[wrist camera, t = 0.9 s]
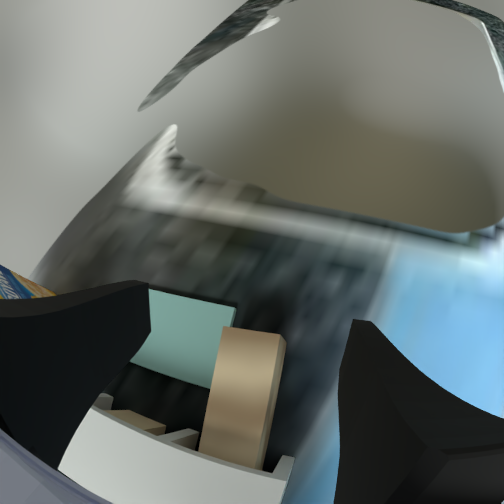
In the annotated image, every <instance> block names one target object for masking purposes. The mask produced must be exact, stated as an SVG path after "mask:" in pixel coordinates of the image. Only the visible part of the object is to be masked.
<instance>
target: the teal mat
mask: <svg viewBox="0 0 504 504" xmlns="http://www.w3.org/2000/svg"><path fill="white" fill-rule="evenodd" d="M149 303H150V319H151V333H150V334H149V336H148V338H147V339H146V341H145V342H144V344H143V345H142V347H141V348H140V350H139V351H138V352H137V353H136V354H135V356H134V357H133V358H132V359H131V360H130V362H132V363H135V364H137V365H140V366H143V367H145V368H148V369H151V370H154V371H156V372H159V373H162V374H165V375H168V376H171V377H174V378H177V379H180V380H183V381H186V382H189V383H192V384H196V385H199V386H202V387H205V388H209V389H211V384H212V379H213V374H214V369H215V364H216V359H217V354H218V349H219V344H220V339H221V334H222V329H223V326H227V327H232V325H233V322H234V318H235V314H236V310H237V309H236V308H234V307H229V306H224V305H219V304H214V303H210V302H205V301H200V300H195V299H191V298H186V297H182V296H177V295H173V294H168V293H164V292H160V291H156V290H151V289H149Z"/></svg>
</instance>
